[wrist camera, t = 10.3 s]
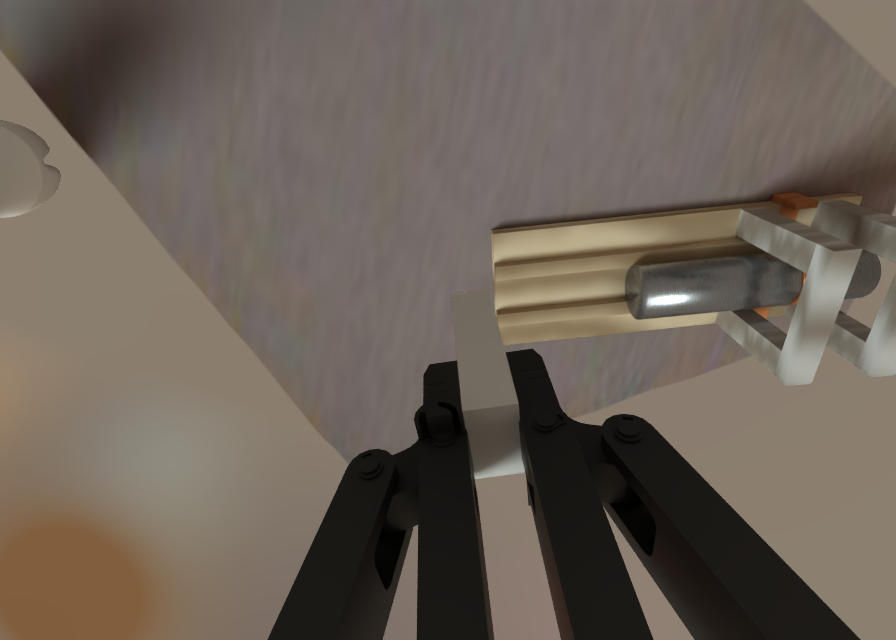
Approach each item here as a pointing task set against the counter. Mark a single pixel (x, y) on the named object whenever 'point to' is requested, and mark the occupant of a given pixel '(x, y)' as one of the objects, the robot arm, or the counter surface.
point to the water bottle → (24, 171)
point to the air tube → (728, 284)
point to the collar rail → (695, 237)
